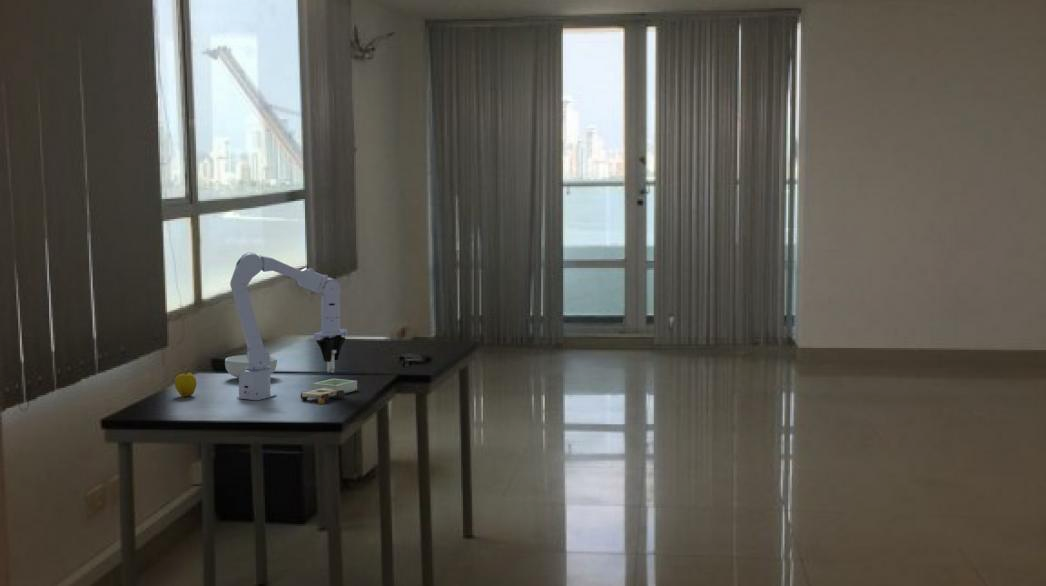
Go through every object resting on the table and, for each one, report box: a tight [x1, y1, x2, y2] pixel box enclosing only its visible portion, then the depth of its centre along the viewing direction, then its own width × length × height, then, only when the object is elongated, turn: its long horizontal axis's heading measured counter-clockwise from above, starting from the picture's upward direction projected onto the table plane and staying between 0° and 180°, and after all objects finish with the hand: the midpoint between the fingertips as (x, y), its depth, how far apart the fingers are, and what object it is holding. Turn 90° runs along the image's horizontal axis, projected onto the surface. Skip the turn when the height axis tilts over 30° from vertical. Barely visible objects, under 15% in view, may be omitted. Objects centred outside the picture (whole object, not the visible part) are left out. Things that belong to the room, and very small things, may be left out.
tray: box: [312, 378, 358, 394], centre depth 371 cm, size 11×9×3 cm
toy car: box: [300, 388, 346, 405], centre depth 357 cm, size 12×9×3 cm
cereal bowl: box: [224, 354, 278, 379], centre depth 394 cm, size 17×17×7 cm
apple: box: [174, 370, 197, 398], centre depth 360 cm, size 6×6×8 cm
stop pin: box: [326, 349, 337, 374], centre depth 366 cm, size 3×3×7 cm
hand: (331, 360), depth 366 cm, fingers closed on stop pin, 3 cm apart
